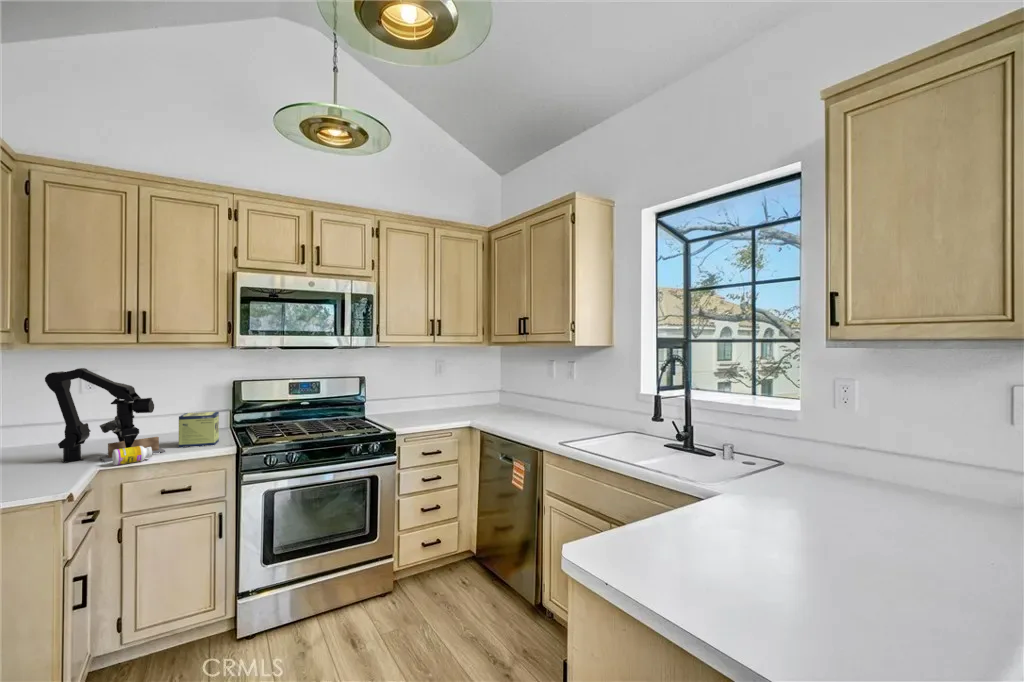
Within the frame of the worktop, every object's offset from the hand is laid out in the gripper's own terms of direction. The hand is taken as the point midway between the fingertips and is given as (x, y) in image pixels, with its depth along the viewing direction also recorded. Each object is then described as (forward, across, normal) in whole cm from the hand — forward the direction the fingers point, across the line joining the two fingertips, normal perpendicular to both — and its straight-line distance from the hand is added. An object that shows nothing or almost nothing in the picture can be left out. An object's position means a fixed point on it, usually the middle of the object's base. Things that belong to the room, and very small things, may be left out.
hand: (125, 448), depth 212 cm
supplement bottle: (+1, +13, -7) cm, 15 cm away
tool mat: (+4, 0, +3) cm, 5 cm away
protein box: (+4, -2, +30) cm, 30 cm away
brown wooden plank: (+3, 0, +3) cm, 4 cm away
